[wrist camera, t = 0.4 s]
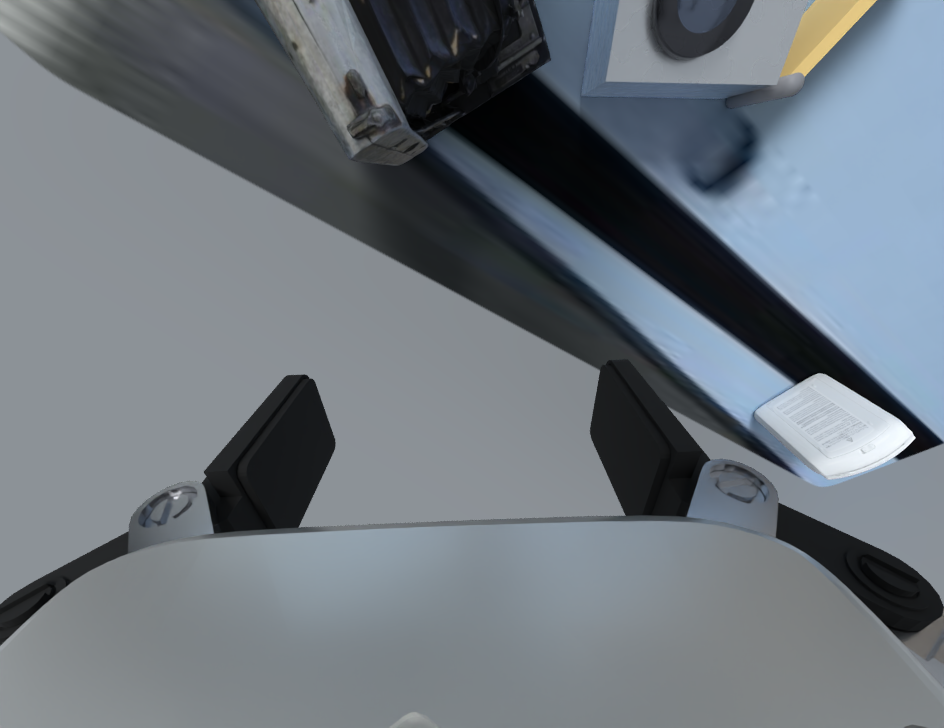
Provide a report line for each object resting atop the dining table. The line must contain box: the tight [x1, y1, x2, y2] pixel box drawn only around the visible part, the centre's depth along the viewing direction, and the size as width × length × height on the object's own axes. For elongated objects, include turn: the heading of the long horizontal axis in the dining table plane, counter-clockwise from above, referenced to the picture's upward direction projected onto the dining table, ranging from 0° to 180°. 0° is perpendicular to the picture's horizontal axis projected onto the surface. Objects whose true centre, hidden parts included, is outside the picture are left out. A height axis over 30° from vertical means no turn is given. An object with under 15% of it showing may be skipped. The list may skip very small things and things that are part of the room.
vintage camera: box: [255, 0, 551, 166], centre depth 21 cm, size 10×15×20 cm, turn 117°
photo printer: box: [754, 373, 916, 480], centre depth 44 cm, size 10×4×12 cm, turn 139°
